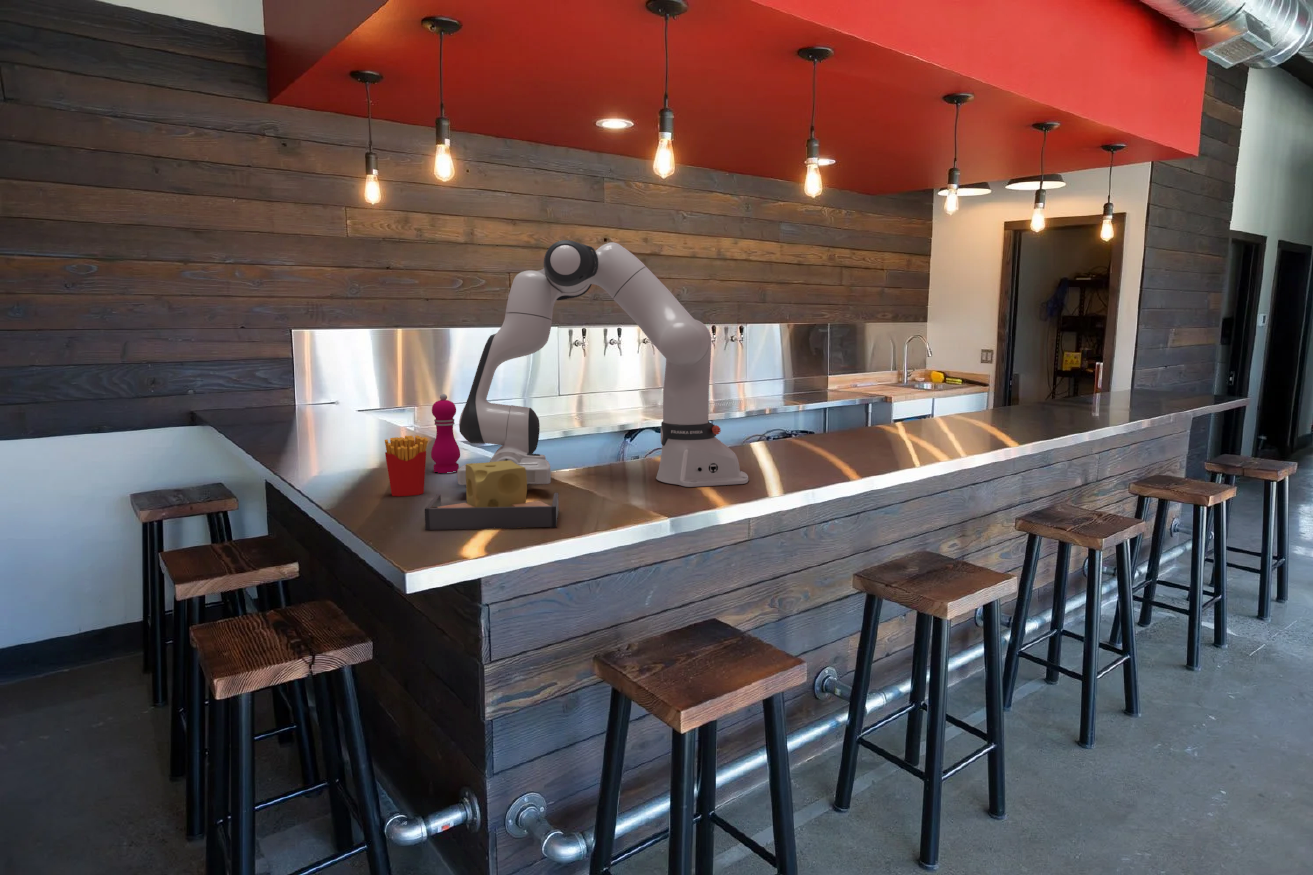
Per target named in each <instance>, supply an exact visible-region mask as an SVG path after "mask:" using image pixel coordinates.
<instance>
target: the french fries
mask: <svg viewBox="0 0 1313 875" xmlns="http://www.w3.org/2000/svg"><path fill="white" fill-rule="evenodd" d="M389 439H390V440H388V439H384V444H385V448H386V449H385V450H386V451H385V452H384V454H385V460H386V467H387V474H388V479H389V480H388V481H389V486H390V492H391V497H408V496H420V495H423V493H424V492H425V480H426V478H425V477H426V459H427V458H426V457H427V451H426V450H427V446H428V442H429V440H428V438H427V437H426V436H424V437H423V436H420V435H415V436H413V435H404V437H401V436H400V437H397V436H395V437H390V438H389ZM389 441H390V442H389Z"/></svg>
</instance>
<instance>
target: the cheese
mask: <svg viewBox="0 0 1313 875" xmlns="http://www.w3.org/2000/svg"><path fill="white" fill-rule="evenodd" d="M465 465H466V485H465V487H466V488H465V489H466V491H465V493H466V503H467V504H469V505H471V506H473V507H512V504H519V503H527V501H526V500H527V493H528V484H527V477H526V469H525V467H523V466H519V465H517V464H515V463H514V462H512V461H511V460H510V461H497V462H490V461H489V462H479V463H478V462H475V463H474V462H472V463H465Z"/></svg>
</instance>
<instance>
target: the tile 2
mask: <svg viewBox="0 0 1313 875" xmlns="http://www.w3.org/2000/svg"><path fill="white" fill-rule="evenodd" d="M521 506H551V505H550V504H547V503H545V502H543V501H541V500H536V501H529V502H527V501H526V503H519V504H512V507H521Z"/></svg>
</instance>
